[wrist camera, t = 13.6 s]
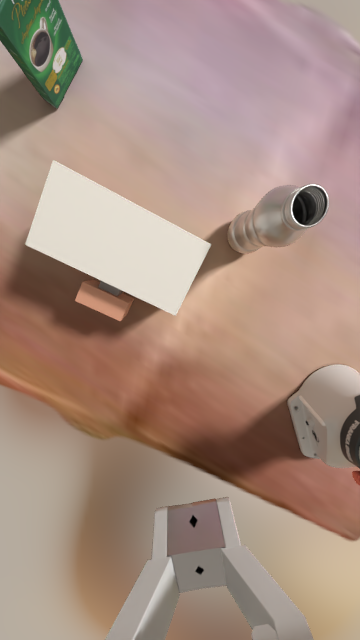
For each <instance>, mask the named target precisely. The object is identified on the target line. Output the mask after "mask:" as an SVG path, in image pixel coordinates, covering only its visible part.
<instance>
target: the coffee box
mask: <svg viewBox="0 0 360 640" xmlns="http://www.w3.org/2000/svg"><path fill="white" fill-rule="evenodd" d="M0 41H1V42H2V43H3V45H4V46H5V47H6V49H7V50H8V52H9V53H10V54H11V56H12V57H13V58H14V60H15V61H16V63H17V64H18V65H19V67H20V68H21V69H22V71H23V72H24V74H25V75H26V76H27V78H28V79H29V80H30V82H31V83H32V84H33V86H34V87H35V89H36V90H37V91H38V92H39V94H40V95H41V96H42V97H43V99H45V100H46V101H47V102H49V103H50V104H51V105H52V106H54V107H55V108H58V107H59V105H60V103H61V101H62V100H63V98H64V95H65V93H66V91H67V89H68V87H69V85H70V83H71V81H72V79H73V78H74V75H75V74H76V72H77V70H78V68H79V66H80V64H81V62H82V60H83V59H82V57H81V54H80V51H79V49H78V47H77V44H76V42H75V40H74V37H73V35H72V32H71V30H70V28H69V25H68V23H67V20H66V18H65V15H64V13H63V10H62V8H61V5H60V3H59V0H0Z"/></svg>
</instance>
